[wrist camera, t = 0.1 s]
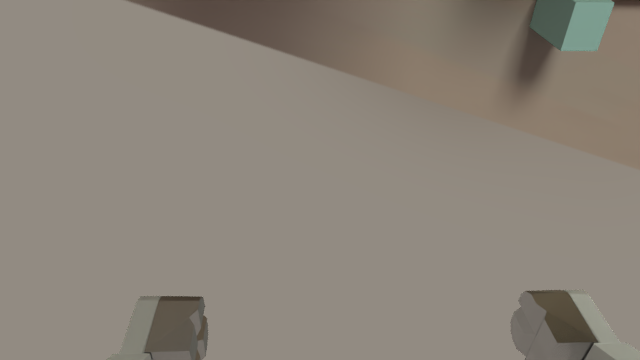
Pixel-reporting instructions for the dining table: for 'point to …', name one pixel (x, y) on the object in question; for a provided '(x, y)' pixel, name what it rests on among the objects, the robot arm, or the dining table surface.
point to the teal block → (572, 22)
